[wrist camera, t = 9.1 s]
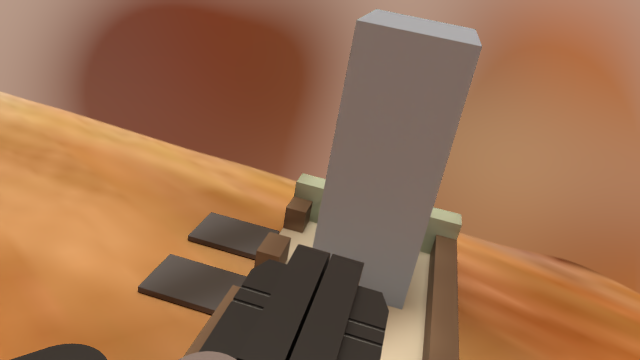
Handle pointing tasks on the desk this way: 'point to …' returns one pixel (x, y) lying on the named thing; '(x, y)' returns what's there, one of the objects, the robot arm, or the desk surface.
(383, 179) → the block
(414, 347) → the trap lane
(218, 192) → the desk surface
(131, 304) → the desk surface
